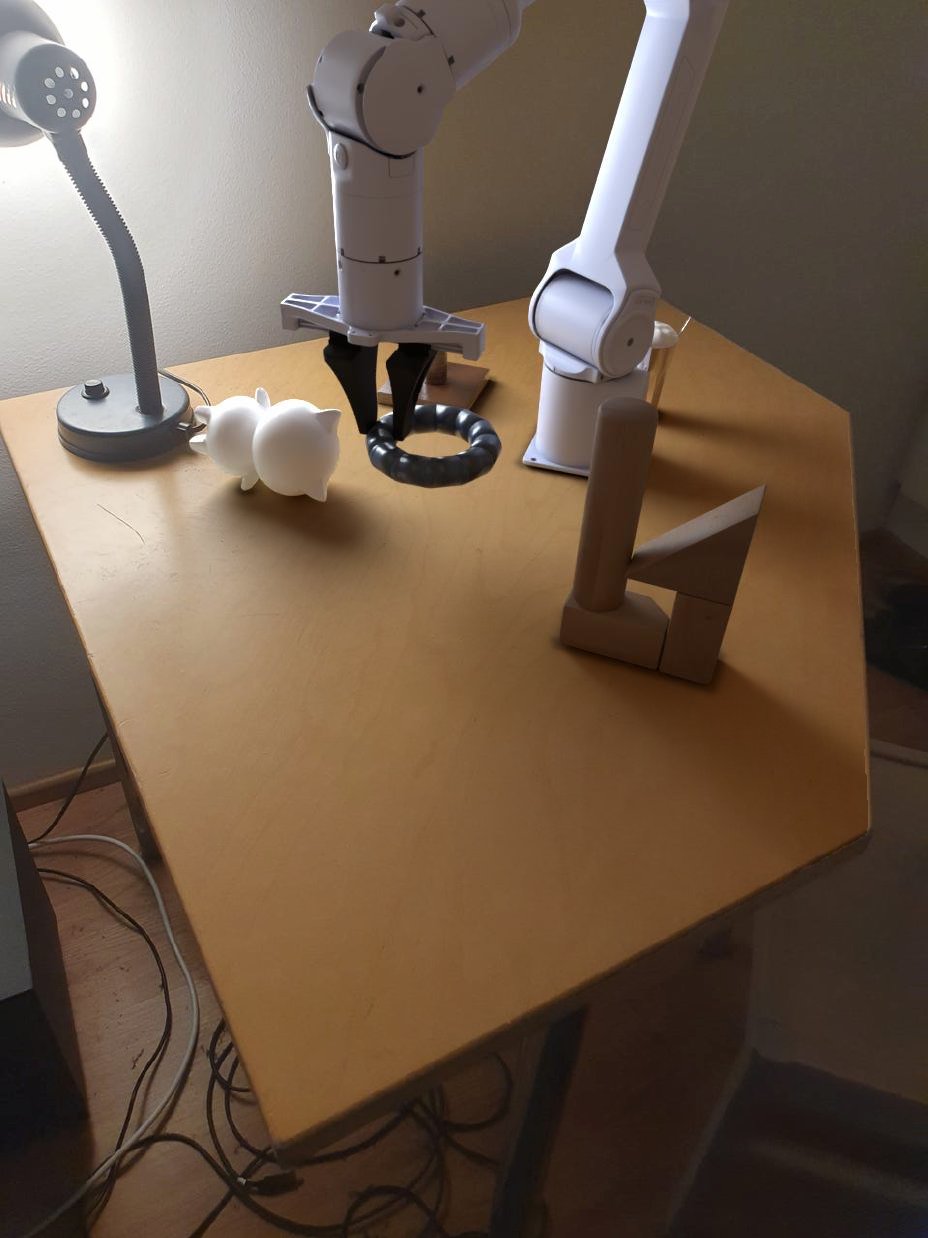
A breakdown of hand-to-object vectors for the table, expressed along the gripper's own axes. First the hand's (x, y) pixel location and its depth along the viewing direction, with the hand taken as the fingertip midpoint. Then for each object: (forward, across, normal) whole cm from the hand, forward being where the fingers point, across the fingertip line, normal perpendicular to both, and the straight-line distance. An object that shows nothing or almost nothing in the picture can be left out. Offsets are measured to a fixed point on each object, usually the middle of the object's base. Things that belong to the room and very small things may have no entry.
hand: (385, 431), depth 69 cm
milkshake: (+9, +17, +27) cm, 33 cm away
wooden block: (+9, +22, -8) cm, 25 cm away
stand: (+9, -4, +24) cm, 26 cm away
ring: (0, +4, 0) cm, 4 cm away
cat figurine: (+9, -11, +4) cm, 15 cm away
